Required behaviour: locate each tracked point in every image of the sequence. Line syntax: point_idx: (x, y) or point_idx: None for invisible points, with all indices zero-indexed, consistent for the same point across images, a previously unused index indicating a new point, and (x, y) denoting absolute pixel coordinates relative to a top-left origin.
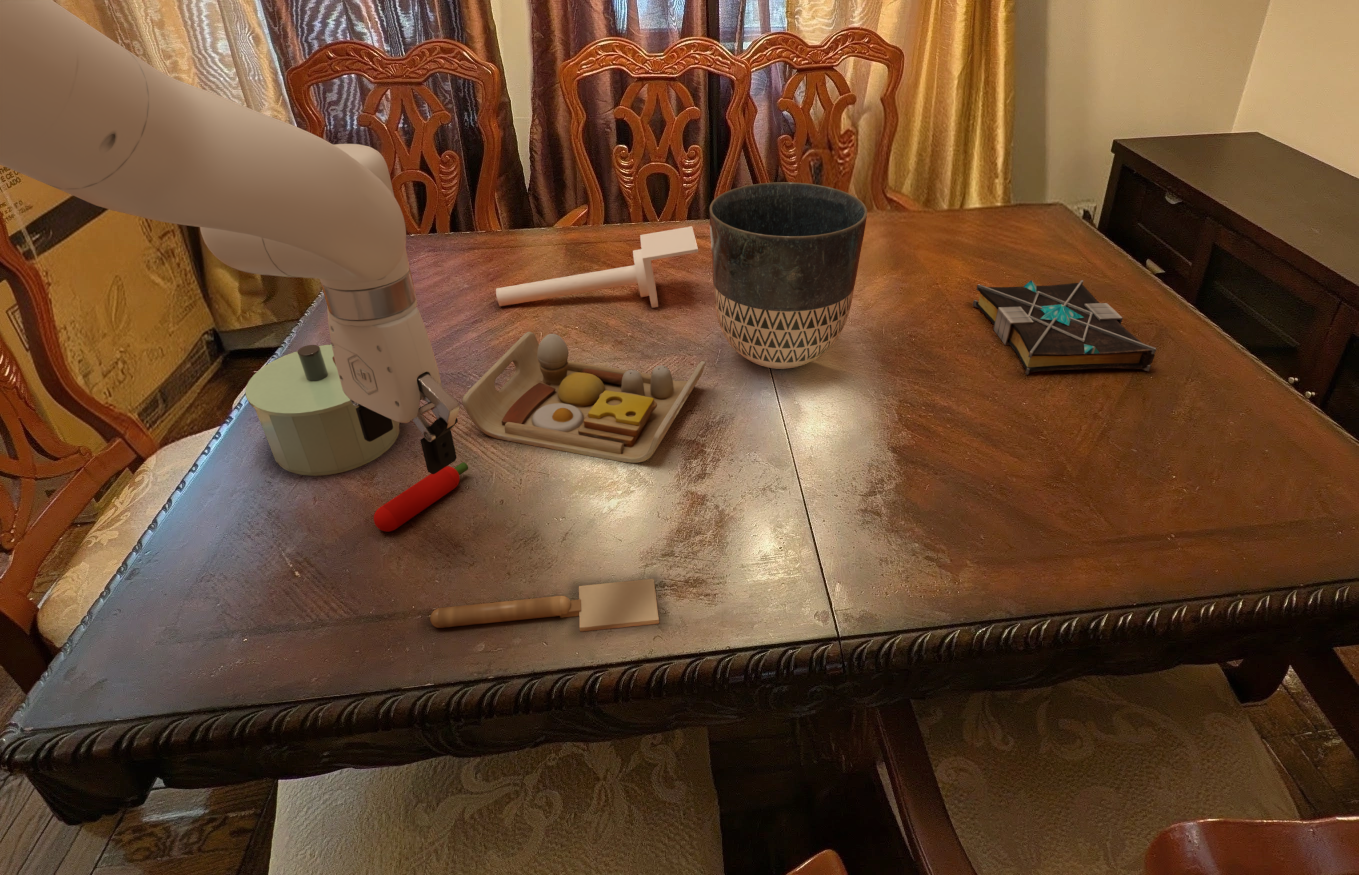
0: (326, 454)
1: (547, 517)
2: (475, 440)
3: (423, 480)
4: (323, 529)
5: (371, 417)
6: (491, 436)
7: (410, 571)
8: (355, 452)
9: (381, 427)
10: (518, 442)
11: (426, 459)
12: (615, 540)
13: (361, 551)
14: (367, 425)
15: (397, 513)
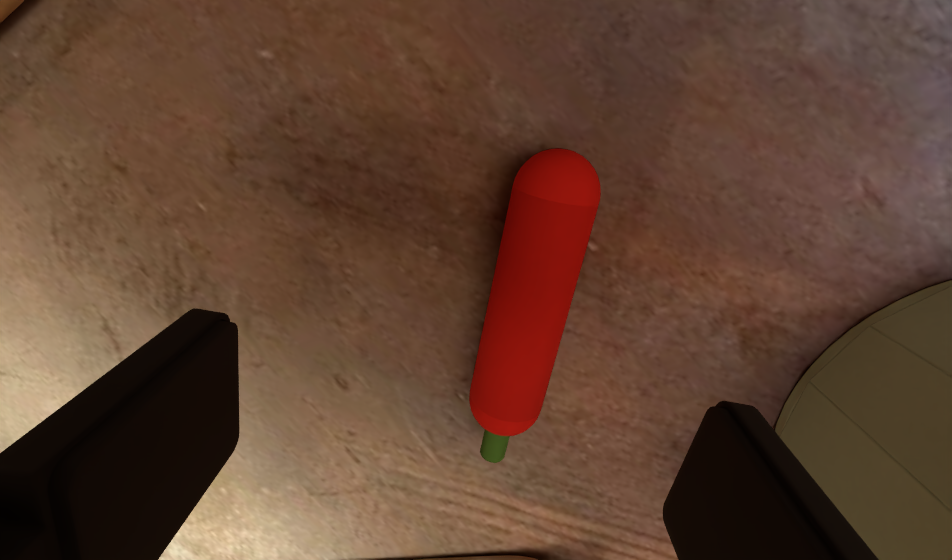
0: (947, 347)
1: None
2: (561, 535)
3: (531, 358)
4: (760, 92)
5: (764, 555)
6: (525, 557)
7: (366, 53)
8: (849, 393)
9: (698, 501)
10: (451, 558)
11: (150, 357)
12: (6, 368)
13: (570, 60)
14: (760, 489)
15: (517, 208)
